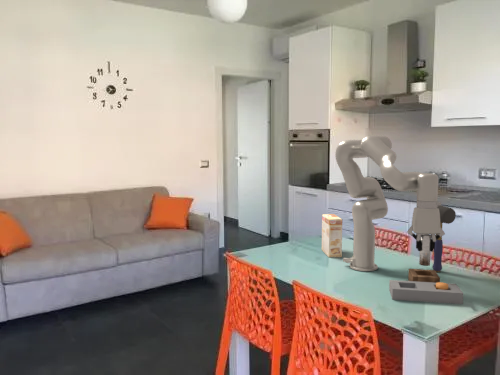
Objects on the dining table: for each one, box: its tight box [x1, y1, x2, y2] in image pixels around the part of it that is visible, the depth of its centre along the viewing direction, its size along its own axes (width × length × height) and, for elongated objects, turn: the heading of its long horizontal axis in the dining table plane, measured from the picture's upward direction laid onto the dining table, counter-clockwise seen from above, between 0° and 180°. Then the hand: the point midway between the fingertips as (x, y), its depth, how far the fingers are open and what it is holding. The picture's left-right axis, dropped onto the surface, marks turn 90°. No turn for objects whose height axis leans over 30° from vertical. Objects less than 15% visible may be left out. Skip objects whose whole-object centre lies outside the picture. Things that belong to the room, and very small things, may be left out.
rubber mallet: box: [432, 205, 457, 273], centre depth 192 cm, size 12×8×30 cm, turn 19°
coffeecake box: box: [321, 213, 343, 258], centre depth 223 cm, size 15×7×20 cm, turn 5°
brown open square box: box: [407, 268, 441, 283], centre depth 173 cm, size 10×10×6 cm
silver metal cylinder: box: [418, 234, 432, 267], centre depth 171 cm, size 4×4×12 cm
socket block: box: [388, 279, 464, 305], centre depth 160 cm, size 24×10×5 cm, turn 78°
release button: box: [436, 281, 448, 290], centre depth 159 cm, size 4×4×5 cm
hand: (425, 250), depth 171 cm, fingers closed on silver metal cylinder, 4 cm apart
